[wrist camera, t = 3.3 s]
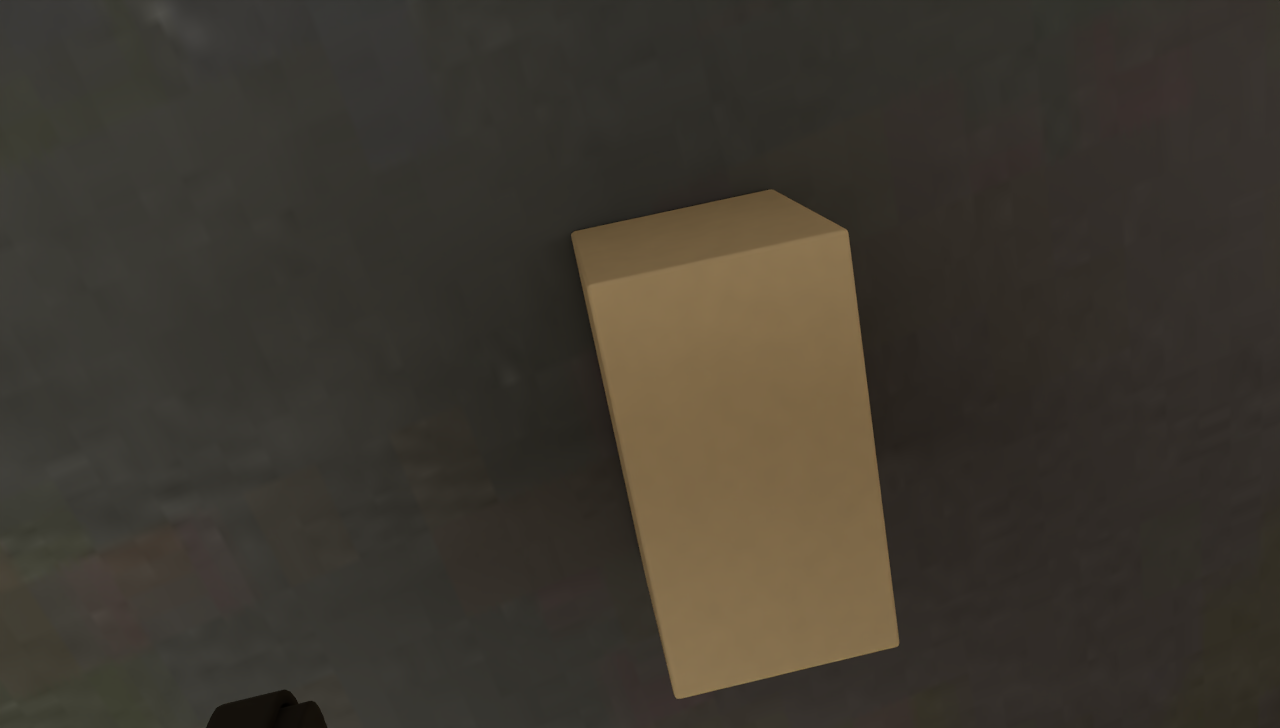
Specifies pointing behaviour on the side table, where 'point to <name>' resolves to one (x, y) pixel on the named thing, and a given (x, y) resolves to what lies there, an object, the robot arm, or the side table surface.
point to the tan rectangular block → (743, 435)
